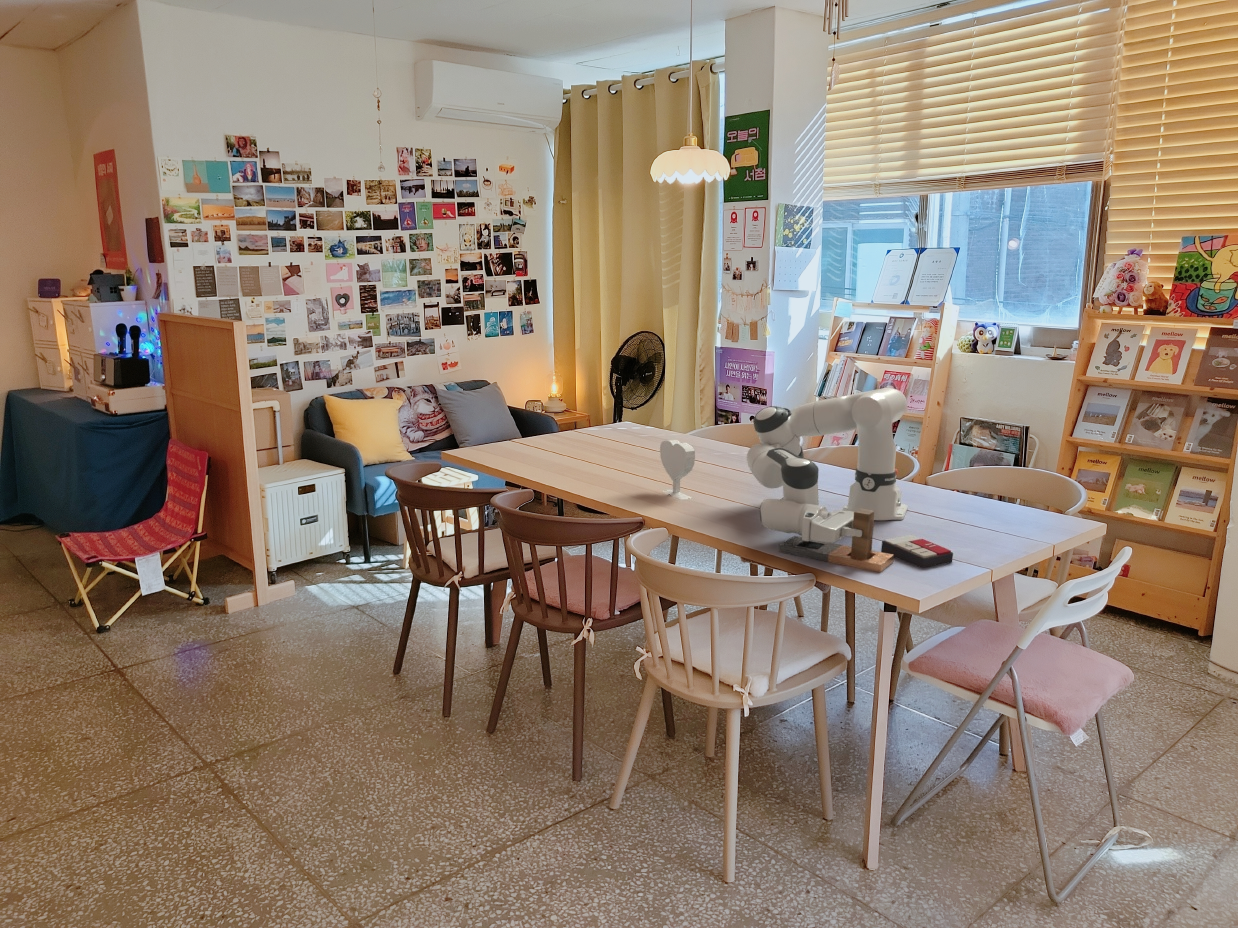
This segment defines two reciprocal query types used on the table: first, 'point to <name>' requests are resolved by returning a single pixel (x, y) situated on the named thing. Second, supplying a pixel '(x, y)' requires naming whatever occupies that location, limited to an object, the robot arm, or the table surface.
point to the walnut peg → (864, 543)
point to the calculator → (917, 551)
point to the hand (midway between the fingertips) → (866, 530)
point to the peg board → (835, 554)
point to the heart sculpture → (677, 463)
